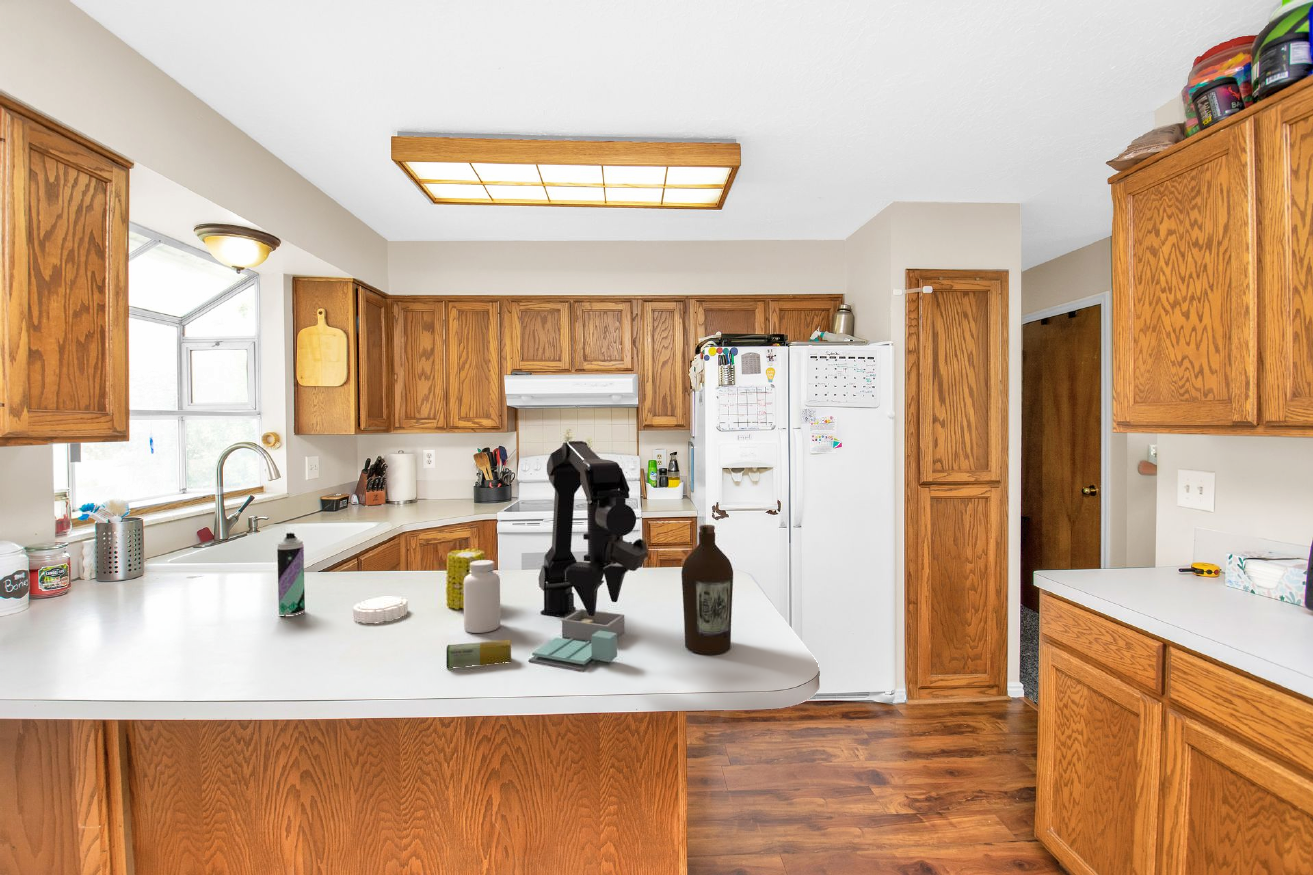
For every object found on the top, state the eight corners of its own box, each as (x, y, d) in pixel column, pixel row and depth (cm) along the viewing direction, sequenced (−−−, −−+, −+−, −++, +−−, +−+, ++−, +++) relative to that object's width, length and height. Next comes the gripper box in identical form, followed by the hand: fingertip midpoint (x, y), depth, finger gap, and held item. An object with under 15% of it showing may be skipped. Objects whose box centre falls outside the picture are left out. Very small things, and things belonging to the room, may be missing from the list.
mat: (528, 661, 112) (528, 659, 112) (556, 643, 122) (556, 641, 122) (582, 671, 108) (582, 669, 108) (607, 651, 117) (607, 649, 117)
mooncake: (360, 628, 132) (360, 613, 132) (347, 615, 142) (347, 601, 142) (414, 617, 140) (414, 602, 140) (399, 605, 149) (398, 591, 149)
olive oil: (676, 639, 123) (675, 522, 123) (723, 635, 126) (722, 520, 125) (690, 659, 113) (689, 531, 112) (741, 653, 115) (740, 529, 115)
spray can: (273, 615, 141) (271, 534, 141) (294, 608, 147) (293, 530, 146) (288, 618, 139) (287, 535, 139) (310, 611, 144) (308, 531, 144)
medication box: (445, 670, 109) (445, 649, 109) (447, 664, 112) (446, 644, 112) (511, 664, 112) (511, 643, 112) (511, 658, 115) (511, 638, 115)
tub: (562, 638, 125) (562, 619, 125) (581, 626, 132) (580, 608, 132) (607, 645, 120) (607, 626, 120) (624, 632, 128) (624, 614, 128)
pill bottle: (507, 624, 134) (507, 560, 133) (483, 636, 126) (482, 568, 126) (481, 620, 137) (480, 557, 137) (456, 631, 130) (455, 564, 129)
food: (475, 603, 155) (487, 615, 147) (431, 600, 149) (440, 613, 140) (488, 547, 156) (500, 555, 148) (444, 542, 150) (455, 551, 141)
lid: (532, 658, 113) (531, 632, 113) (556, 643, 121) (556, 618, 121) (603, 670, 107) (602, 643, 107) (623, 653, 115) (623, 628, 115)
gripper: (618, 539, 99) (619, 629, 100) (659, 522, 117) (660, 599, 117) (562, 535, 104) (563, 621, 104) (610, 519, 121) (611, 593, 121)
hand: (603, 608), depth 111 cm, fingers open, 9 cm apart
